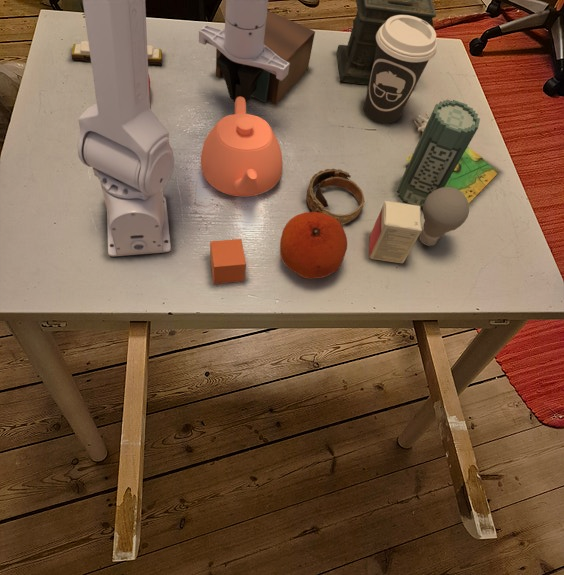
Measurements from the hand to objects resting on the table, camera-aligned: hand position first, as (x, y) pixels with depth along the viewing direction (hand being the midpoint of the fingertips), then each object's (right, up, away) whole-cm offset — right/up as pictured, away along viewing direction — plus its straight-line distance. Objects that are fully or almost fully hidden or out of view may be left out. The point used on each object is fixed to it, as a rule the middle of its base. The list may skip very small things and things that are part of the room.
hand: (240, 98), depth 83 cm
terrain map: (+35, -11, +1) cm, 36 cm away
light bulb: (+28, -24, -7) cm, 37 cm away
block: (-1, -28, -15) cm, 32 cm away
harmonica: (-21, +9, +5) cm, 24 cm away
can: (+28, -16, -3) cm, 32 cm away
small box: (+22, -25, -9) cm, 35 cm away
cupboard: (+3, +7, +8) cm, 11 cm away
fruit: (+11, -26, -12) cm, 31 cm away
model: (+24, +10, +13) cm, 29 cm away
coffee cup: (+24, 0, +7) cm, 25 cm away
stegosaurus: (+30, -2, +4) cm, 30 cm away
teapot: (+1, -14, -5) cm, 15 cm away
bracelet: (+15, -18, -6) cm, 24 cm away
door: (+1, 0, +3) cm, 3 cm away
